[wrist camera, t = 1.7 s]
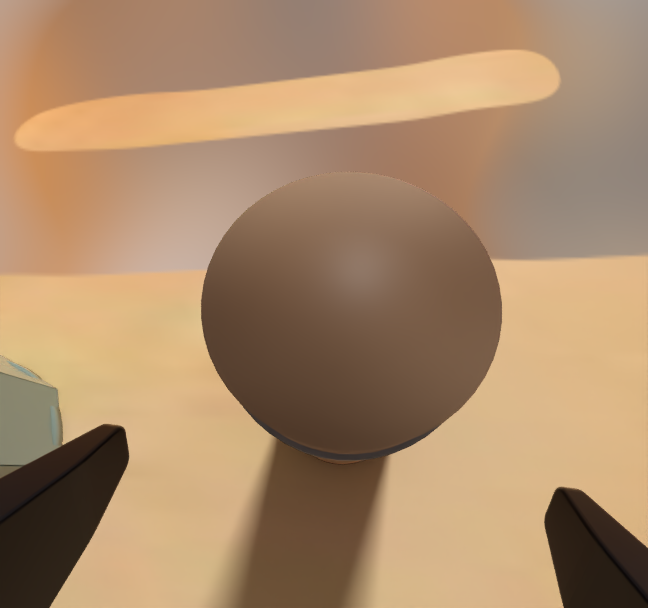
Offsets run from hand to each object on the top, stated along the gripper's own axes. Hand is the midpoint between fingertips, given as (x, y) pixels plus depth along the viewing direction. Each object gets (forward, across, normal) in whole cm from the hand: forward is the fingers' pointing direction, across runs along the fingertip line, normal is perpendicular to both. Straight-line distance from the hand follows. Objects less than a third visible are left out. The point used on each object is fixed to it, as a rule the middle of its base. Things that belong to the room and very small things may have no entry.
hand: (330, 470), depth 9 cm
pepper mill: (+9, 0, +5) cm, 10 cm away
